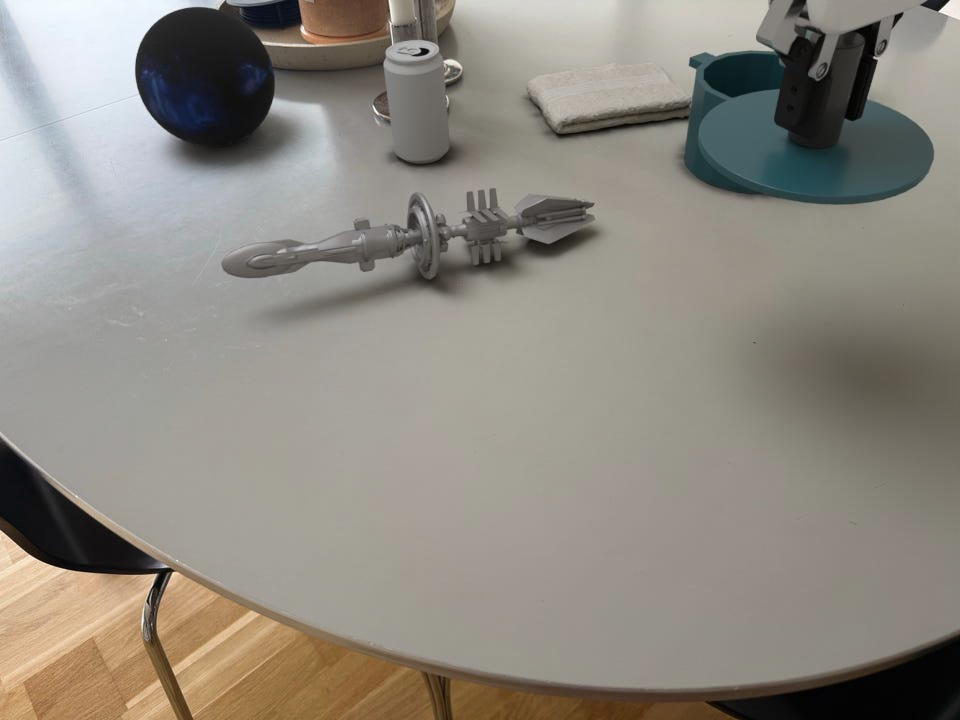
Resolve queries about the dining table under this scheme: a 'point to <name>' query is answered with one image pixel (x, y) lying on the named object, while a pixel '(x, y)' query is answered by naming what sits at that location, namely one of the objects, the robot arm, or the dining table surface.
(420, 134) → the beverage can
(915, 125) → the lid
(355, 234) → the spaceship
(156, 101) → the decorative sphere
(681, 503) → the dining table surface
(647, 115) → the washcloth
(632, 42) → the dining table surface
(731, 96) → the pot
